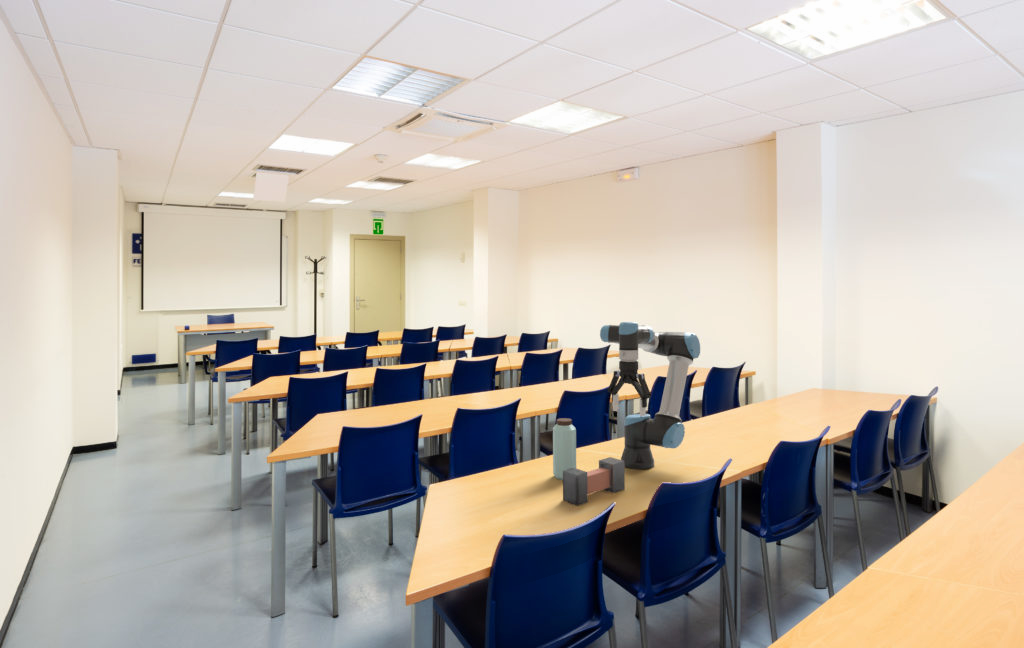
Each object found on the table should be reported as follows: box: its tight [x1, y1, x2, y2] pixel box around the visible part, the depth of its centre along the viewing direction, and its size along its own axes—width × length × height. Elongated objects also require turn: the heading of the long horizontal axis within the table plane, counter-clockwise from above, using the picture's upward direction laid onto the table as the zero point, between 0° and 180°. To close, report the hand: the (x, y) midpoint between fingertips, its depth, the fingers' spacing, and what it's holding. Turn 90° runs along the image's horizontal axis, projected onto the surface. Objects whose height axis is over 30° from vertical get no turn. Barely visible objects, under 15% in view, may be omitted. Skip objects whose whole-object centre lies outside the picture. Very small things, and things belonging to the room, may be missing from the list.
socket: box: [562, 467, 589, 506], centre depth 207 cm, size 6×7×12 cm
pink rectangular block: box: [586, 467, 610, 495], centre depth 213 cm, size 18×4×7 cm, turn 129°
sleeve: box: [598, 456, 626, 494], centre depth 220 cm, size 7×7×12 cm
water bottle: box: [552, 417, 577, 481], centre depth 236 cm, size 10×10×25 cm
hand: (628, 412), depth 220 cm, fingers open, 13 cm apart
